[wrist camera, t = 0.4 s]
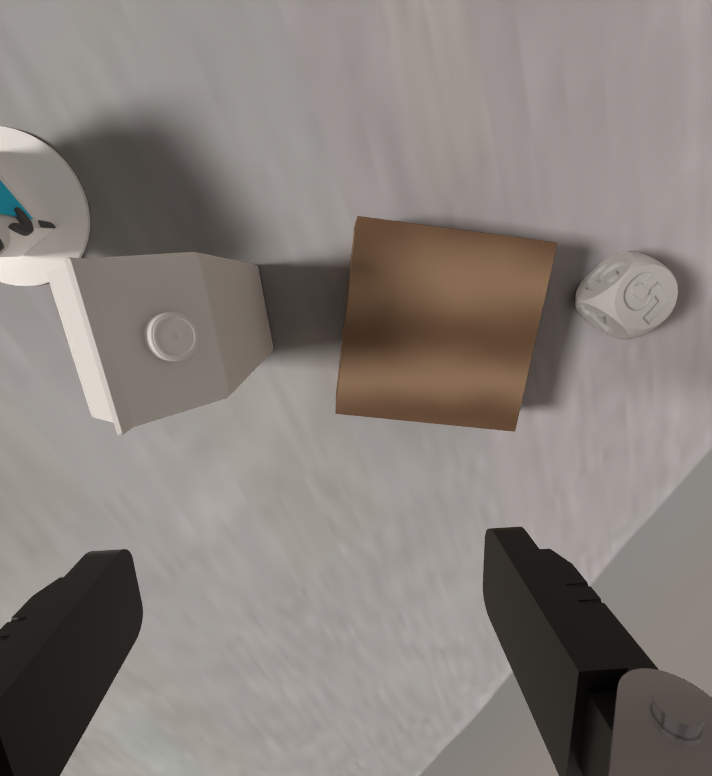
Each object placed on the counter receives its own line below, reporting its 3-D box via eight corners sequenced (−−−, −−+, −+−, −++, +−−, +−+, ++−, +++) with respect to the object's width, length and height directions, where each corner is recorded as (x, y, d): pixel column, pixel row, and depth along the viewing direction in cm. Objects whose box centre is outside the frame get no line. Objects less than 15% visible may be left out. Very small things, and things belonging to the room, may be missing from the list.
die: (602, 336, 36) (642, 344, 32) (563, 299, 36) (599, 303, 31) (644, 291, 36) (693, 292, 31) (606, 252, 35) (649, 248, 30)
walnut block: (354, 227, 34) (357, 216, 28) (520, 249, 35) (557, 242, 29) (336, 392, 37) (335, 413, 31) (488, 408, 38) (515, 431, 32)
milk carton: (192, 361, 36) (34, 448, 17) (171, 276, 34) (-29, 270, 15) (274, 349, 36) (205, 423, 17) (258, 264, 34) (161, 244, 15)
